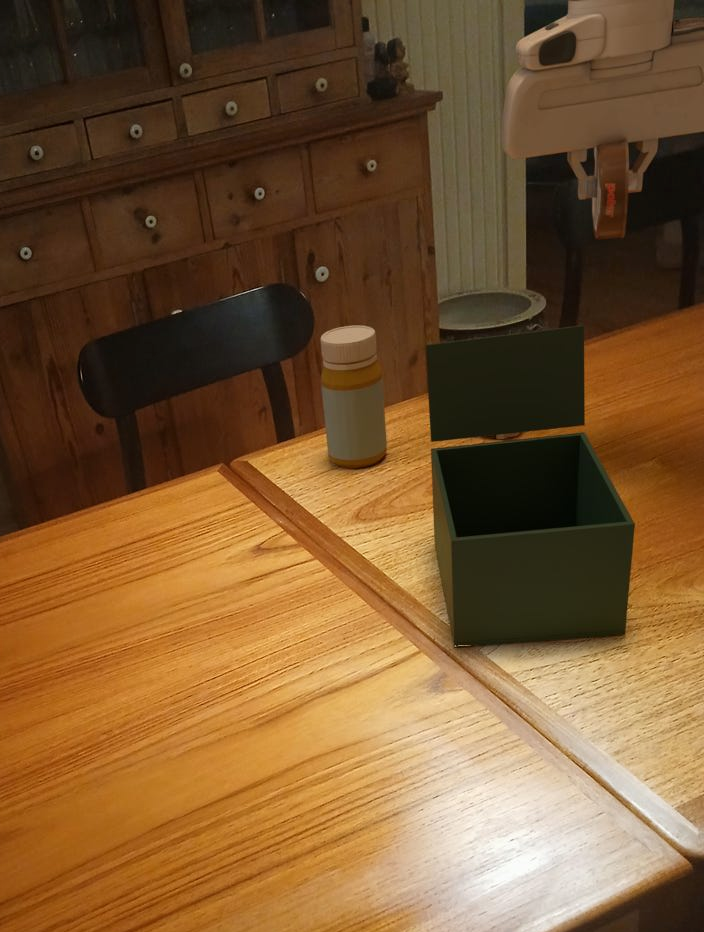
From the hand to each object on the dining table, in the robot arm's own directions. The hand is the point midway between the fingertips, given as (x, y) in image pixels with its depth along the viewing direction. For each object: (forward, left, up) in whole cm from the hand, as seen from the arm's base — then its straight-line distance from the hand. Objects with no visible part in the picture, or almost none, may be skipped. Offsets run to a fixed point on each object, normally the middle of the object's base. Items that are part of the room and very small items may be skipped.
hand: (608, 194), depth 96 cm
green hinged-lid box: (+12, +27, -27) cm, 40 cm away
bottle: (+26, -5, -27) cm, 38 cm away
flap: (+12, +17, -11) cm, 24 cm away
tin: (0, 0, -3) cm, 3 cm away
